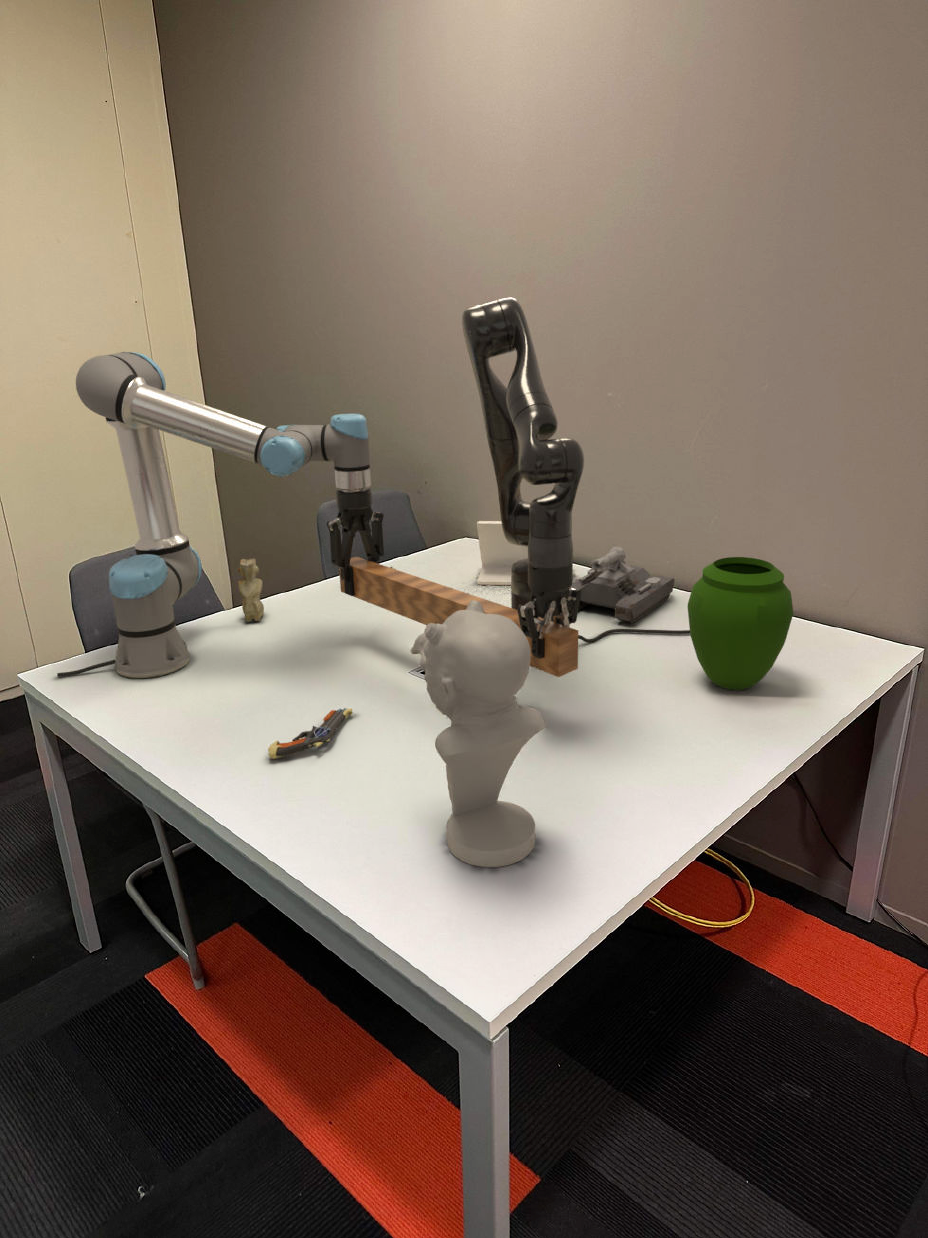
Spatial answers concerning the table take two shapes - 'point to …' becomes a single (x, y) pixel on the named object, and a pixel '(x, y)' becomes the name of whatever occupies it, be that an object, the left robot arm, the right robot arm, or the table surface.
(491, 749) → the bust sculpture
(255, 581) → the sculpture
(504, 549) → the tablet stand
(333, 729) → the toy gun
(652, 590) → the toy
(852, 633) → the table surface
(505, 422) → the right robot arm
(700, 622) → the vase
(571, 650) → the beam
